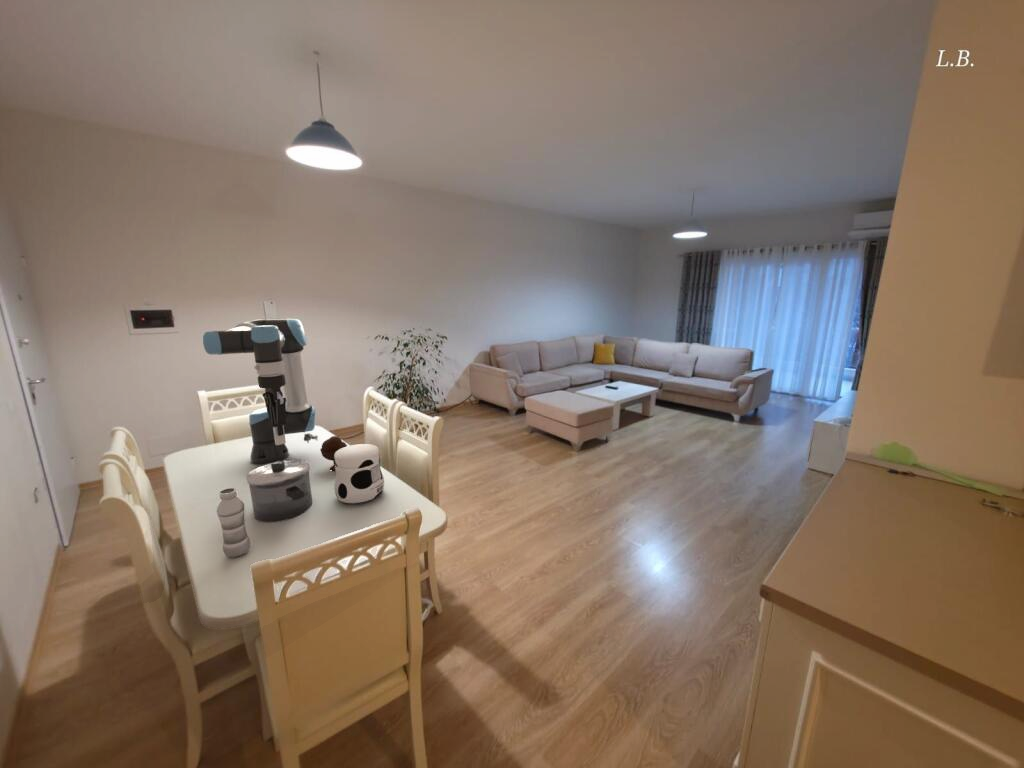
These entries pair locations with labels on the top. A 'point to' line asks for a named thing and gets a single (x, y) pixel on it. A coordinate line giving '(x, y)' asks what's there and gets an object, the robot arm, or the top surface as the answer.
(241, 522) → the plastic bottle
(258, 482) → the lid
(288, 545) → the top surface
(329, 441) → the brown miniature tree
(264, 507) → the pot
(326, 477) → the top surface
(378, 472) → the milk container
